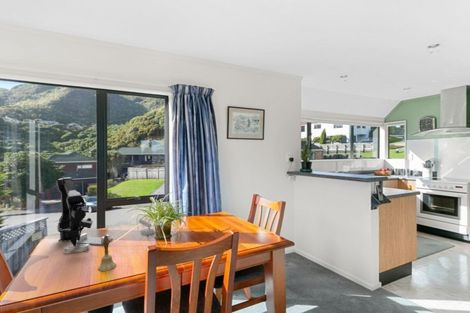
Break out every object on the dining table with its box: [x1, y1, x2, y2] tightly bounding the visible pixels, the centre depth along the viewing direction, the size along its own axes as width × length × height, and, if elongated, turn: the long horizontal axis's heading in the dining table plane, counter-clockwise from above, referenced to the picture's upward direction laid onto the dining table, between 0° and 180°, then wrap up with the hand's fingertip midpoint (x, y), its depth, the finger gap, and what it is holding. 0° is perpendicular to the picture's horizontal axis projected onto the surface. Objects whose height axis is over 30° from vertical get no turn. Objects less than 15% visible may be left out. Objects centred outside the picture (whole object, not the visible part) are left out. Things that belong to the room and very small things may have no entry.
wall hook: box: [138, 218, 155, 236], centre depth 186 cm, size 9×10×10 cm
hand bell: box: [97, 234, 117, 272], centre depth 134 cm, size 8×8×16 cm
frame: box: [63, 244, 90, 254], centre depth 156 cm, size 12×4×3 cm, turn 108°
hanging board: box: [76, 232, 114, 246], centre depth 170 cm, size 19×10×4 cm, turn 79°
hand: (76, 243), depth 156 cm, fingers open, 9 cm apart
